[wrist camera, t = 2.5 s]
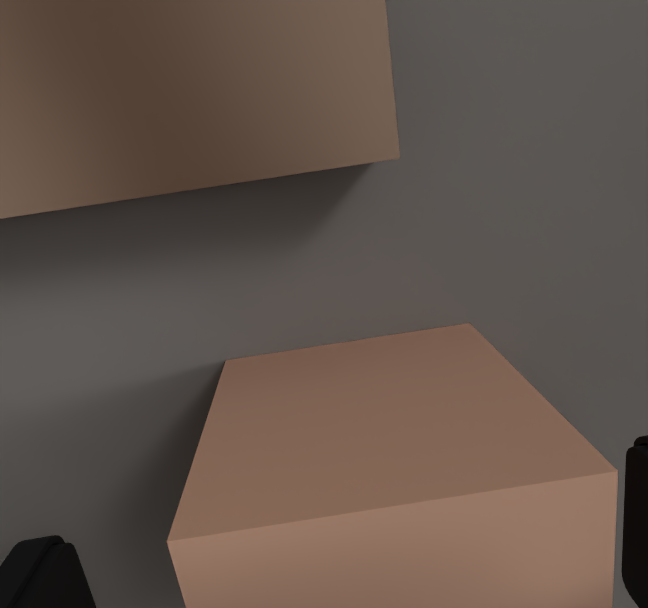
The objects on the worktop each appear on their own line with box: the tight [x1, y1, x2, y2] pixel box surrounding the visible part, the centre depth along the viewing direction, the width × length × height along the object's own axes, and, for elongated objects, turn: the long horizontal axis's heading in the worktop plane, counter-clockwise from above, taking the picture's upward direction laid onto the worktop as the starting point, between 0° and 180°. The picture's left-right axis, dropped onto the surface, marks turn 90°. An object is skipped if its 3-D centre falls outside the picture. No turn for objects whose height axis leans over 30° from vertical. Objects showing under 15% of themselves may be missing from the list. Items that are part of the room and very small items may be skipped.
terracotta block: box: [167, 323, 618, 608], centre depth 9 cm, size 5×5×5 cm
